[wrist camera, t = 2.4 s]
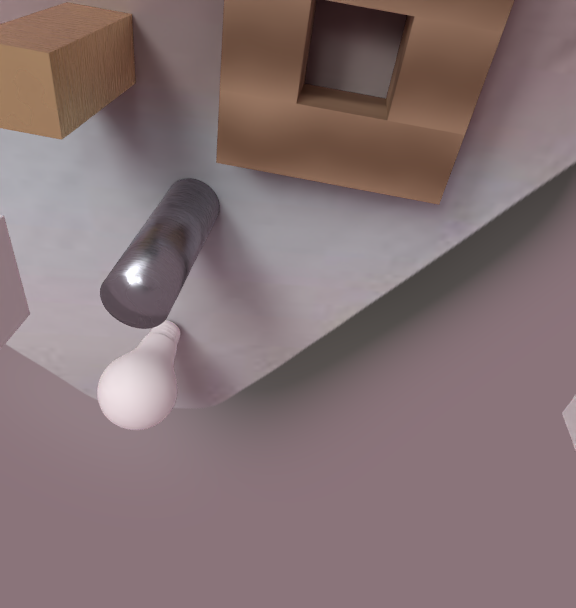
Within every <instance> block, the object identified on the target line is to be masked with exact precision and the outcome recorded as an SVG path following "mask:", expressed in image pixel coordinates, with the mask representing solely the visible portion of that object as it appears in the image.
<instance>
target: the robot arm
mask: <svg viewBox="0 0 576 608" xmlns="http://www.w3.org/2000/svg"><path fill="white" fill-rule="evenodd" d="M29 315H30V312H29V308H28V304H27V300H26V297H25V293H24V289H23V285H22V282H21V278H20V274H19V270H18V267H17V263H16V259H15V255H14V252H13V248H12V244H11V240H10V237H9V233H8V229H7V225H6V222H5V218H4V216H2V215H0V349H1V348H2V347H3V346H4V344H5V343H6V342H7V341H8V340H9V338H10V337H11V336H12V335H13V334H14V332H15V331H16V330H17V329H18V328H19V327H20V325H21V324H22V323H23V322H24V321H25V319H26V318H27V317H28V316H29ZM562 415H563V418H564V420H565V423H566V426H567V429H568V431H569V434H570V436H571V439H572V442H573V445H574V448H575V450H576V395H575V396H574V398H573V399H572V400H571V402H570V403H569V404H568V406H567V407H566V408H565V410H564V411H563V413H562Z"/></svg>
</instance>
